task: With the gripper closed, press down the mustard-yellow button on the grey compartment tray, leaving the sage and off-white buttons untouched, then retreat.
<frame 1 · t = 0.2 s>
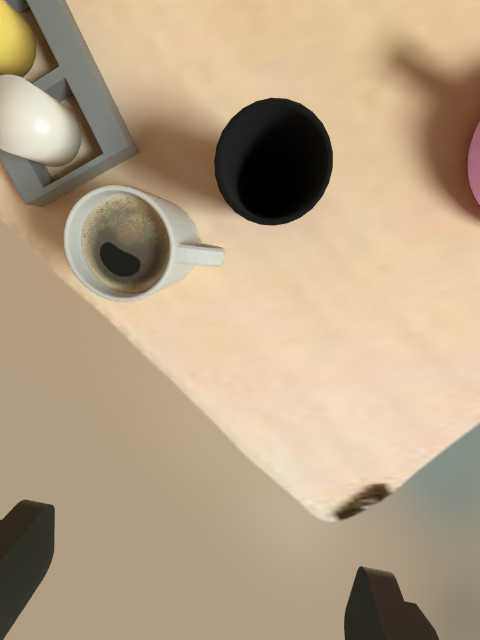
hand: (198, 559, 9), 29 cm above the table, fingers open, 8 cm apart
offwhite button: (34, 125, 29), point 5 cm above the table, slide at 0.0 cm
cup: (271, 190, 34), on the table
mug: (168, 248, 36), on the table
grey compartment tray: (26, 60, 33), on the table
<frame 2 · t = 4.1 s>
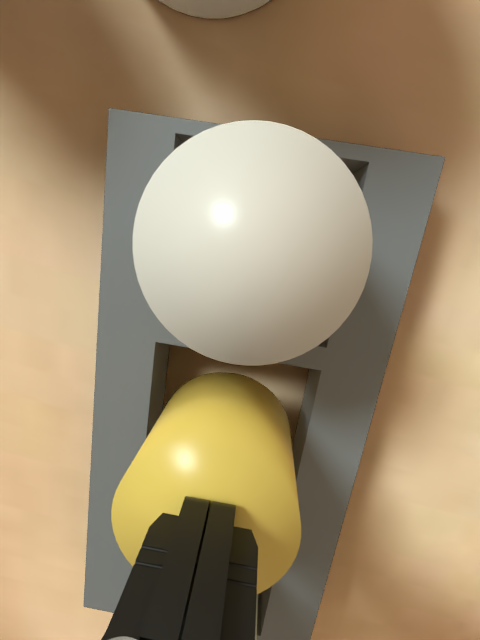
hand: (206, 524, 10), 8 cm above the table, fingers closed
offwhite button: (253, 249, 10), point 5 cm above the table, slide at 0.0 cm
mustard button: (216, 470, 12), point 5 cm above the table, slide at 0.0 cm, touching gripper
sage button: (190, 631, 14), point 5 cm above the table, slide at 0.0 cm
grey compartment tray: (231, 403, 17), on the table
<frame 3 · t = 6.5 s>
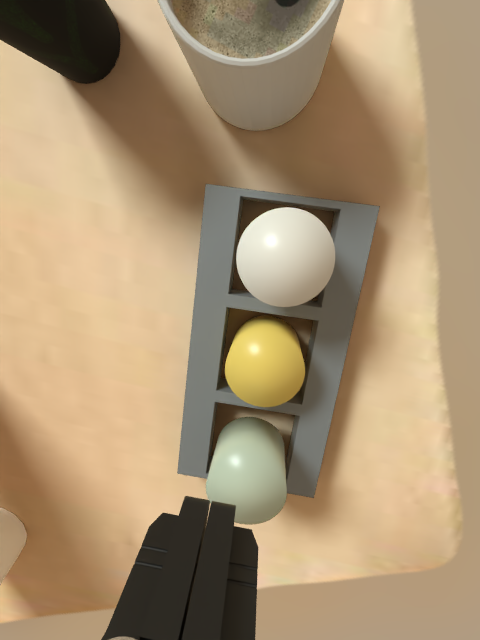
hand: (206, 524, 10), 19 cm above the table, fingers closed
offwhite button: (283, 256, 22), point 5 cm above the table, slide at 0.0 cm
mustard button: (265, 358, 26), point 3 cm above the table, slide at 2.5 cm
cup: (84, 41, 25), on the table
sage button: (248, 467, 26), point 5 cm above the table, slide at 0.0 cm
foam cup: (0, 529, 37), on the table
mug: (251, 48, 24), on the table
grey compartment tray: (266, 346, 29), on the table
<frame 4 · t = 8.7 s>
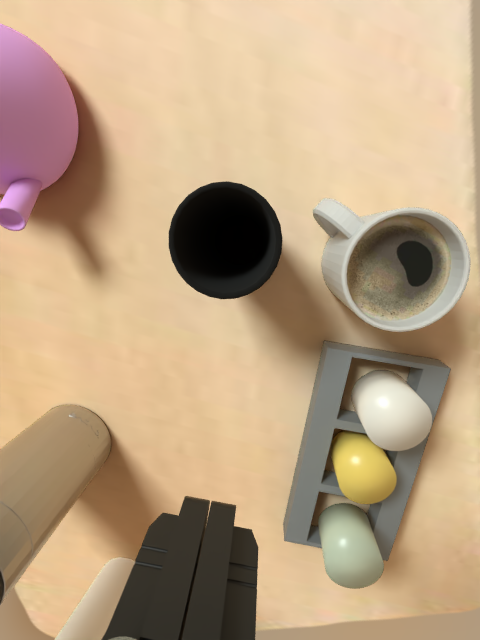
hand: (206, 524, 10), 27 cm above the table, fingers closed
teapot: (25, 133, 34), on the table
offwhite button: (388, 408, 32), point 5 cm above the table, slide at 0.0 cm
mustard button: (360, 463, 36), point 3 cm above the table, slide at 2.5 cm
cup: (239, 240, 34), on the table
sage button: (348, 543, 36), point 5 cm above the table, slide at 0.0 cm
foam cup: (125, 574, 46), on the table
mug: (361, 252, 34), on the table
grey compartment tray: (354, 448, 39), on the table
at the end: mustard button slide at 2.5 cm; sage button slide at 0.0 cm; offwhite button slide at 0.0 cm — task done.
